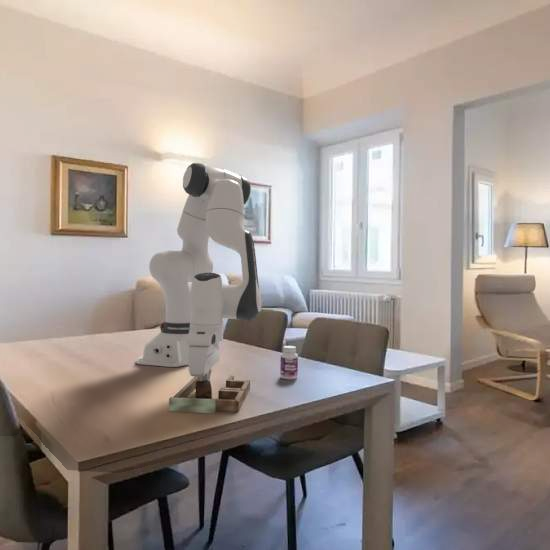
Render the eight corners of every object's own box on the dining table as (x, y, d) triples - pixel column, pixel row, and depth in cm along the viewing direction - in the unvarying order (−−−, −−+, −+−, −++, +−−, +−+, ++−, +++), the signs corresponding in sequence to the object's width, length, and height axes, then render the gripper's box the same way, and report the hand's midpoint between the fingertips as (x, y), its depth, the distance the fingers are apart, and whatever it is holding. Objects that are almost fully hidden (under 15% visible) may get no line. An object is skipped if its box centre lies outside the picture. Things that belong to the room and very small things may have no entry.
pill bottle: (285, 380, 141) (285, 348, 140) (277, 376, 145) (277, 345, 145) (300, 378, 143) (301, 347, 143) (292, 374, 148) (292, 344, 147)
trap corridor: (168, 411, 111) (169, 398, 110) (196, 382, 136) (196, 372, 136) (237, 414, 109) (237, 401, 109) (252, 384, 135) (252, 374, 135)
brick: (195, 398, 122) (195, 380, 122) (210, 397, 123) (210, 379, 122) (195, 411, 111) (195, 391, 111) (212, 410, 112) (212, 391, 112)
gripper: (204, 327, 135) (203, 375, 135) (184, 339, 115) (183, 395, 115) (225, 328, 134) (224, 376, 135) (209, 340, 114) (208, 396, 114)
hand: (205, 385), depth 125 cm, fingers closed
